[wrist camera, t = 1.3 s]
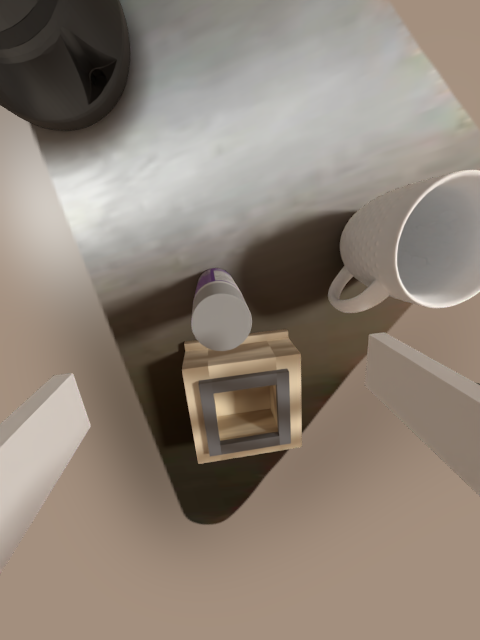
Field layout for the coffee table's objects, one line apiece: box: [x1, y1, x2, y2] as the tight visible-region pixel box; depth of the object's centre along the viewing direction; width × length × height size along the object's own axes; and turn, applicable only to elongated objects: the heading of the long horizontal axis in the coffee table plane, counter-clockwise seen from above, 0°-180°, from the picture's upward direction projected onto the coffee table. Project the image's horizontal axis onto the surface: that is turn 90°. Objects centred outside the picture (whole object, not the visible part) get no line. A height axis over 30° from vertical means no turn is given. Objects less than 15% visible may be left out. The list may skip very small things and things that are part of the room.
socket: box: [182, 329, 302, 464], centre depth 34 cm, size 16×14×7 cm
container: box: [191, 268, 252, 351], centre depth 26 cm, size 5×5×15 cm
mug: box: [328, 170, 480, 313], centre depth 27 cm, size 15×11×13 cm
